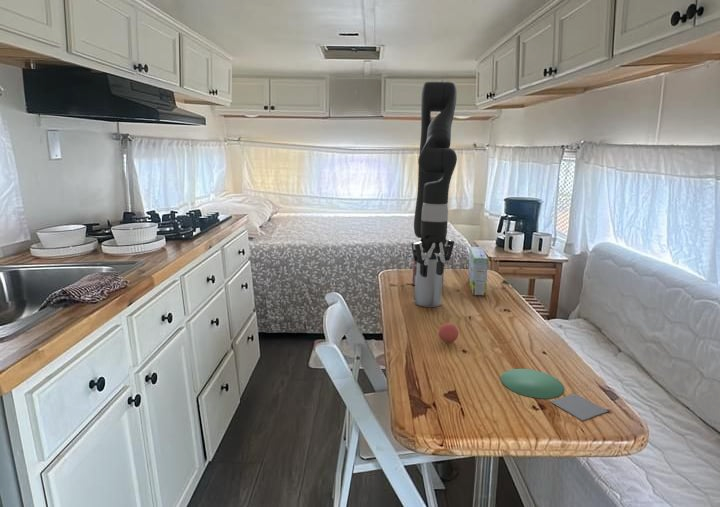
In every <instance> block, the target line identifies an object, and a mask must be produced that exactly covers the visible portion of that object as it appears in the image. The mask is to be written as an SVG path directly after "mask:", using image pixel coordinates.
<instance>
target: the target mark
mask: <svg viewBox="0 0 720 507" xmlns="http://www.w3.org/2000/svg"><path fill="white" fill-rule="evenodd" d="M500 381H501V383H502V384H503V386H504V387H506V389H508V390H510V391H512V392H514V393H516V394H518V395H521V396H524V395H525V396H524V397H527V396H529V397H528V398H532V397H534V398H533V399H544V400H545V399H546V400H547V399H554V398H558V397H560V396H561V395H562V394H564V390H565V386H564V384H563V383H562V382H561V381H560V380H559V379H557V378H556V377H554V376H553V375H551V374H549V373H546V372H542V371H539V370H536V369H530V368H514V369H513V368H512V369H509V370H506V371H504V372H503V373H502V374H501V376H500Z"/></svg>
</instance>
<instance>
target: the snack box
mask: <svg viewBox="0 0 720 507" xmlns="http://www.w3.org/2000/svg"><path fill="white" fill-rule="evenodd" d="M468 253H469V255H468V275H467V276H468V279H467V280H468V281H469V282H468V284H470V285H469V288H470V291H472V292H471V295H472V294H473V295H472V296H476V295H482V297H483V296H484V297H486V295H487V282H488V281H487V280H488V267H489V265H488V262H489V258H488V256H487V255H486V252H485V251H484V249H483V247H481V246H469V252H468Z"/></svg>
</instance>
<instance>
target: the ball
mask: <svg viewBox="0 0 720 507" xmlns="http://www.w3.org/2000/svg"><path fill="white" fill-rule="evenodd" d="M438 336H439V339H441V341H443V342H444V343H448V344H449V343H451V344H452V343H454V342H455V341H456V340H457V339H458V337H459V330H458V328H457V327H456V325H454V324H453V323H451V322H450V323H449V322H447V323H444V324H442V325H441V326H440V328H439V329H438Z"/></svg>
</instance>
